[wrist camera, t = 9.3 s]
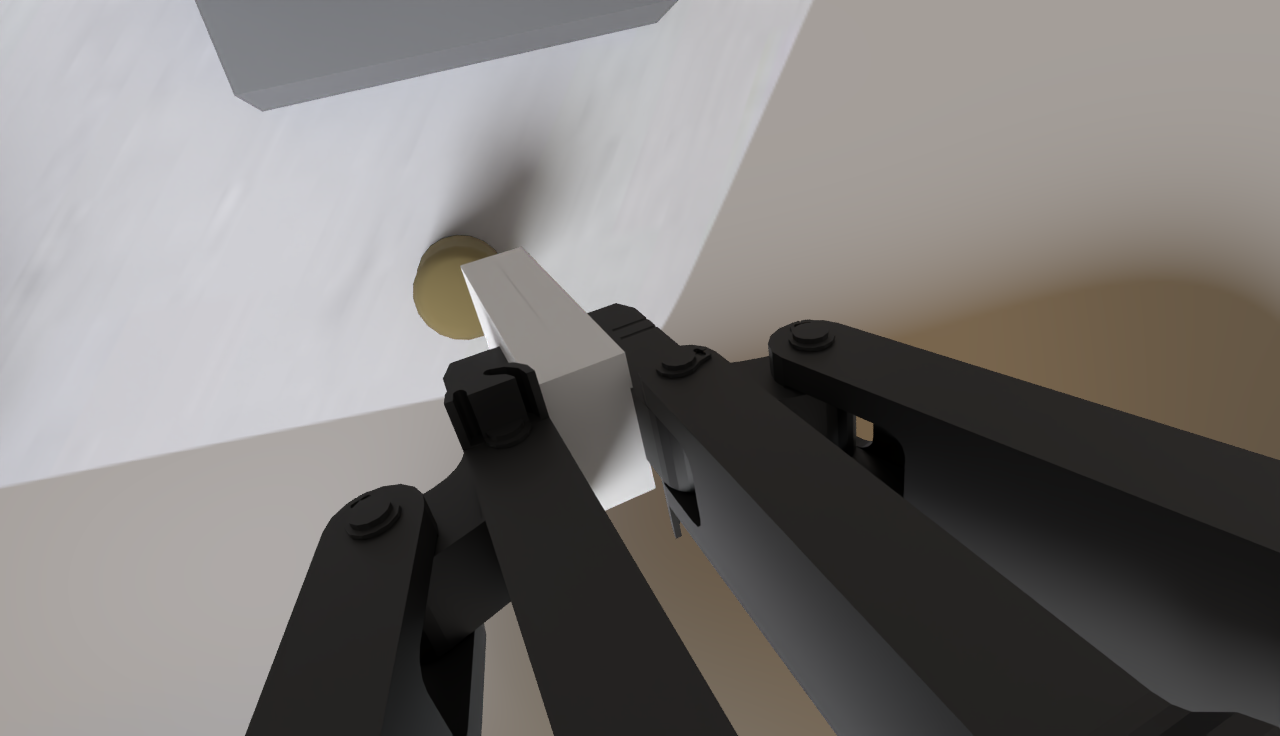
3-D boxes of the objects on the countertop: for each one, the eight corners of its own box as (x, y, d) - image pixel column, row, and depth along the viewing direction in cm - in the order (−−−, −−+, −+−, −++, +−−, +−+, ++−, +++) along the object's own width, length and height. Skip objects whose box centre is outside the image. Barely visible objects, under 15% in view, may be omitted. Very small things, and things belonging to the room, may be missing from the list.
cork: (424, 327, 43) (412, 359, 33) (409, 239, 42) (392, 243, 32) (512, 317, 45) (527, 344, 35) (501, 231, 43) (513, 232, 33)
